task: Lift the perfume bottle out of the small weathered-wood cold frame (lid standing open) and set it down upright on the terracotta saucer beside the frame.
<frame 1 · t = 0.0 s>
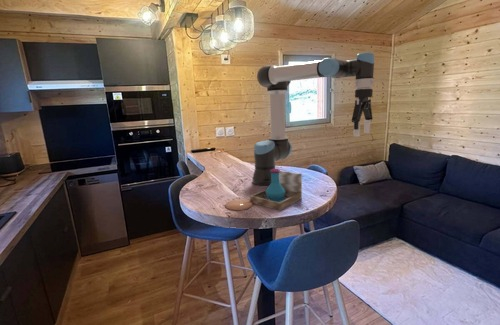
hand: (361, 134, 129), 28 cm above the table, fingers open, 13 cm apart
perfume bottle: (275, 200, 127), resting in cold frame
cold frame: (275, 200, 127), on the table
saucer: (239, 205, 123), on the table
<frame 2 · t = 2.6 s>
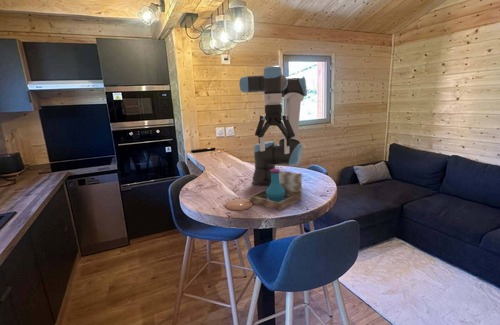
hand: (274, 152, 122), 23 cm above the table, fingers open, 13 cm apart
nothing on the table moved.
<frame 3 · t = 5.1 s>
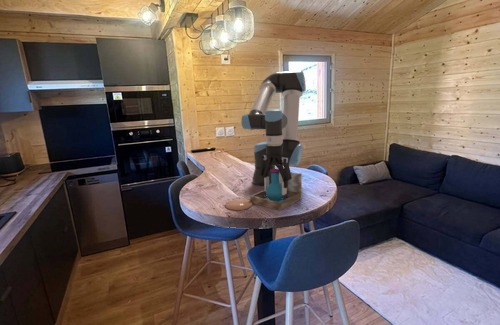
hand: (275, 192, 126), 4 cm above the table, fingers closed on perfume bottle, 9 cm apart
perfume bottle: (275, 200, 127), resting in cold frame, touching gripper
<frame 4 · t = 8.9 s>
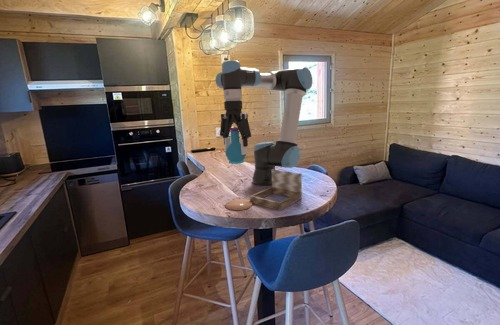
hand: (236, 153, 118), 24 cm above the table, fingers closed on perfume bottle, 9 cm apart
perfume bottle: (236, 162, 119), point 20 cm above the table, touching gripper
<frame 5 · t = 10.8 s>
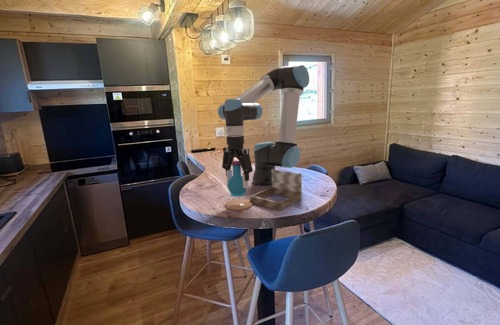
hand: (237, 185, 121), 9 cm above the table, fingers closed on perfume bottle, 9 cm apart
perfume bottle: (238, 194, 122), point 5 cm above the table, touching gripper
when the fingers open (5 cm above the table, at t = 12.5 s): perfume bottle stays where it is, resting on saucer.
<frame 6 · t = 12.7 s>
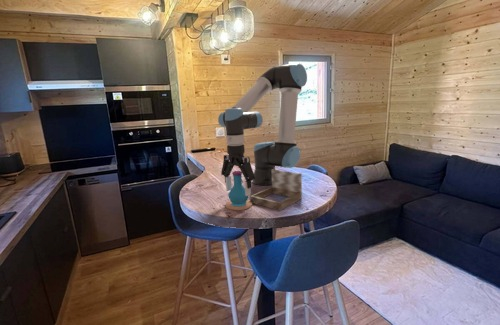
hand: (238, 192, 122), 6 cm above the table, fingers open, 11 cm apart
perfume bottle: (239, 204, 123), point 1 cm above the table, touching saucer
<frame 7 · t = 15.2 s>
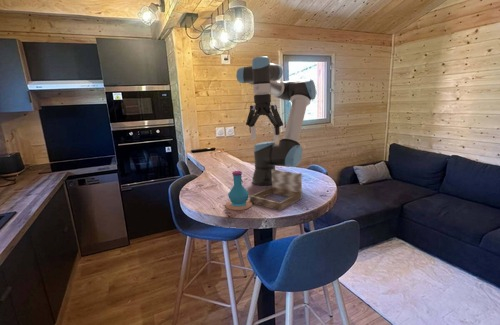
hand: (264, 141, 125), 28 cm above the table, fingers open, 13 cm apart
nothing on the table moved.
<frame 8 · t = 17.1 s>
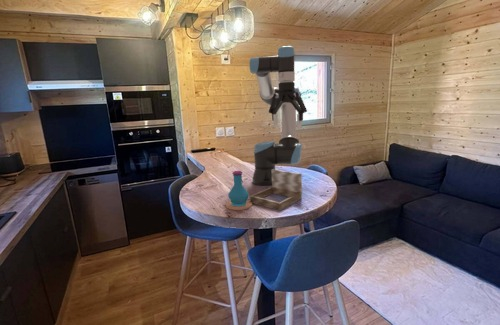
hand: (287, 127, 131), 33 cm above the table, fingers open, 13 cm apart
nothing on the table moved.
at the end: perfume bottle 0.0 cm from the saucer (horizontally); perfume bottle tilted 0°; the gripper is holding nothing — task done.
